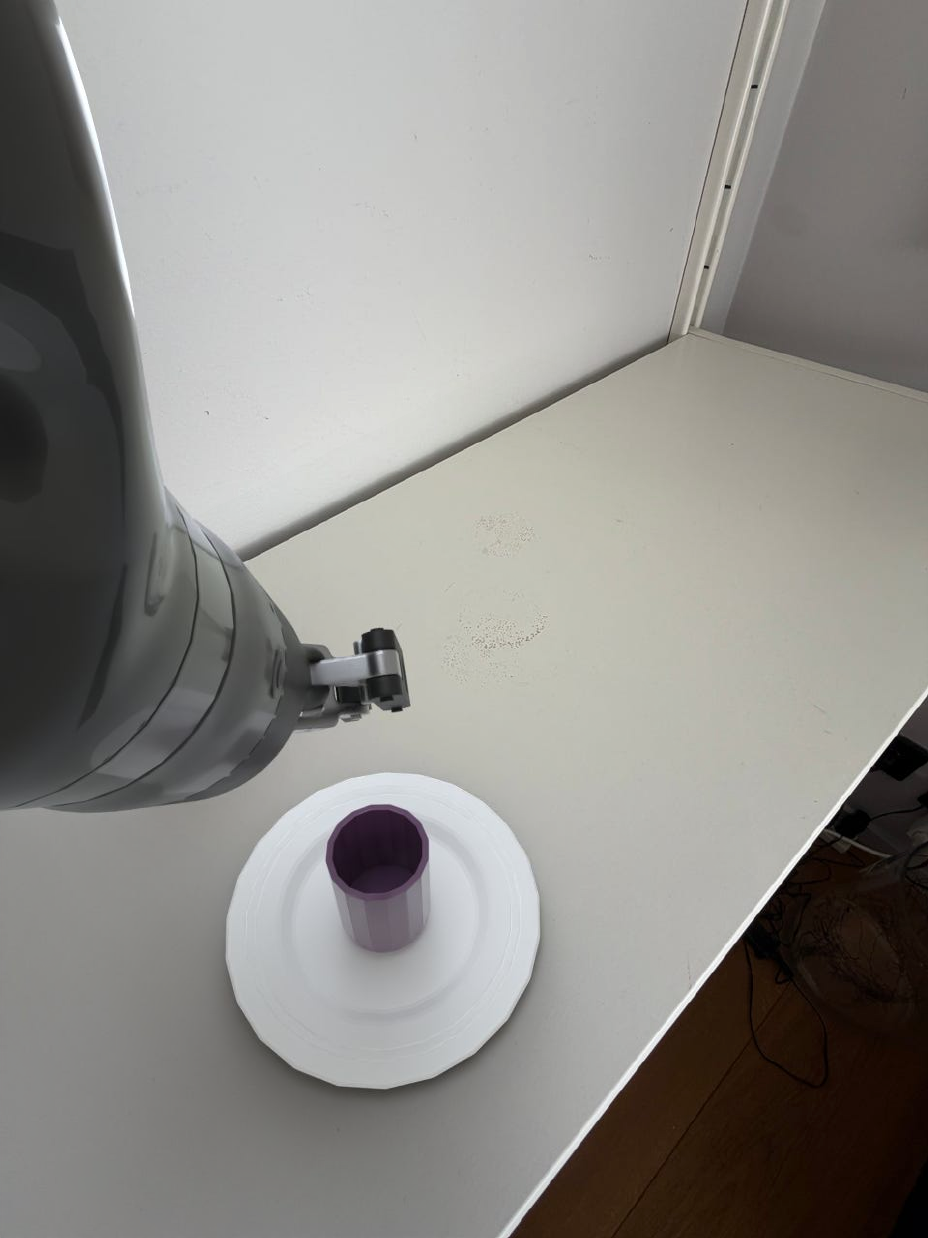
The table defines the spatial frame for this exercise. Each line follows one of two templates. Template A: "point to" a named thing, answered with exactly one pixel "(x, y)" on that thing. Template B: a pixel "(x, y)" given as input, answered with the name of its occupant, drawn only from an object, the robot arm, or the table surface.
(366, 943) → the cup
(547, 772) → the table surface
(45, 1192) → the table surface
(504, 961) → the plate
